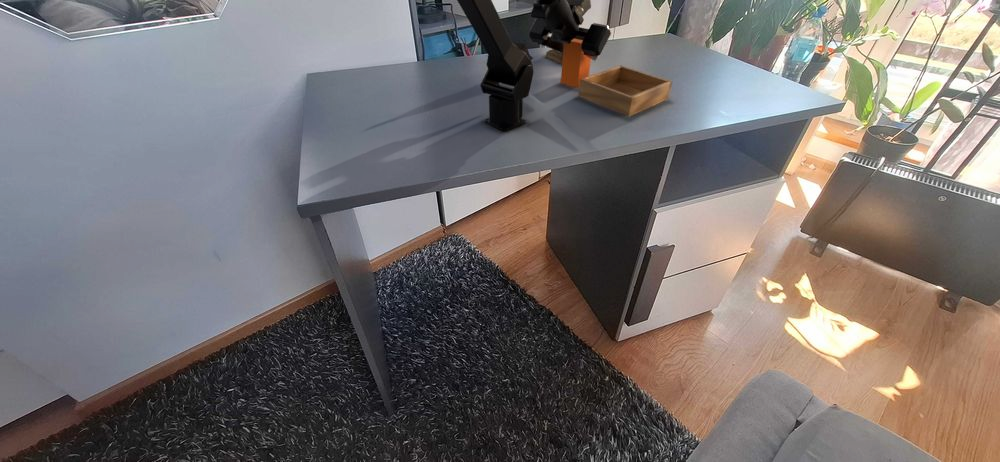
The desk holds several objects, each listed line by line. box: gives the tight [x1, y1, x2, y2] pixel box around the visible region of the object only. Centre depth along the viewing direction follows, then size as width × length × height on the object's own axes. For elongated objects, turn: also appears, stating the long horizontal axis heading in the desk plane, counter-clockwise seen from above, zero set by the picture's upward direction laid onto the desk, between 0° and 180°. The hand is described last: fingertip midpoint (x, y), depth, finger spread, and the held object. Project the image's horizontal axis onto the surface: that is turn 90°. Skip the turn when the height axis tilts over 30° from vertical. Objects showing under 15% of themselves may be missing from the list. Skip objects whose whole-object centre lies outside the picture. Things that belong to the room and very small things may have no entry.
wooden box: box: [578, 64, 673, 117], centre depth 95 cm, size 15×15×5 cm
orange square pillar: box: [560, 39, 592, 89], centre depth 101 cm, size 5×5×11 cm
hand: (579, 54), depth 101 cm, fingers open, 9 cm apart
